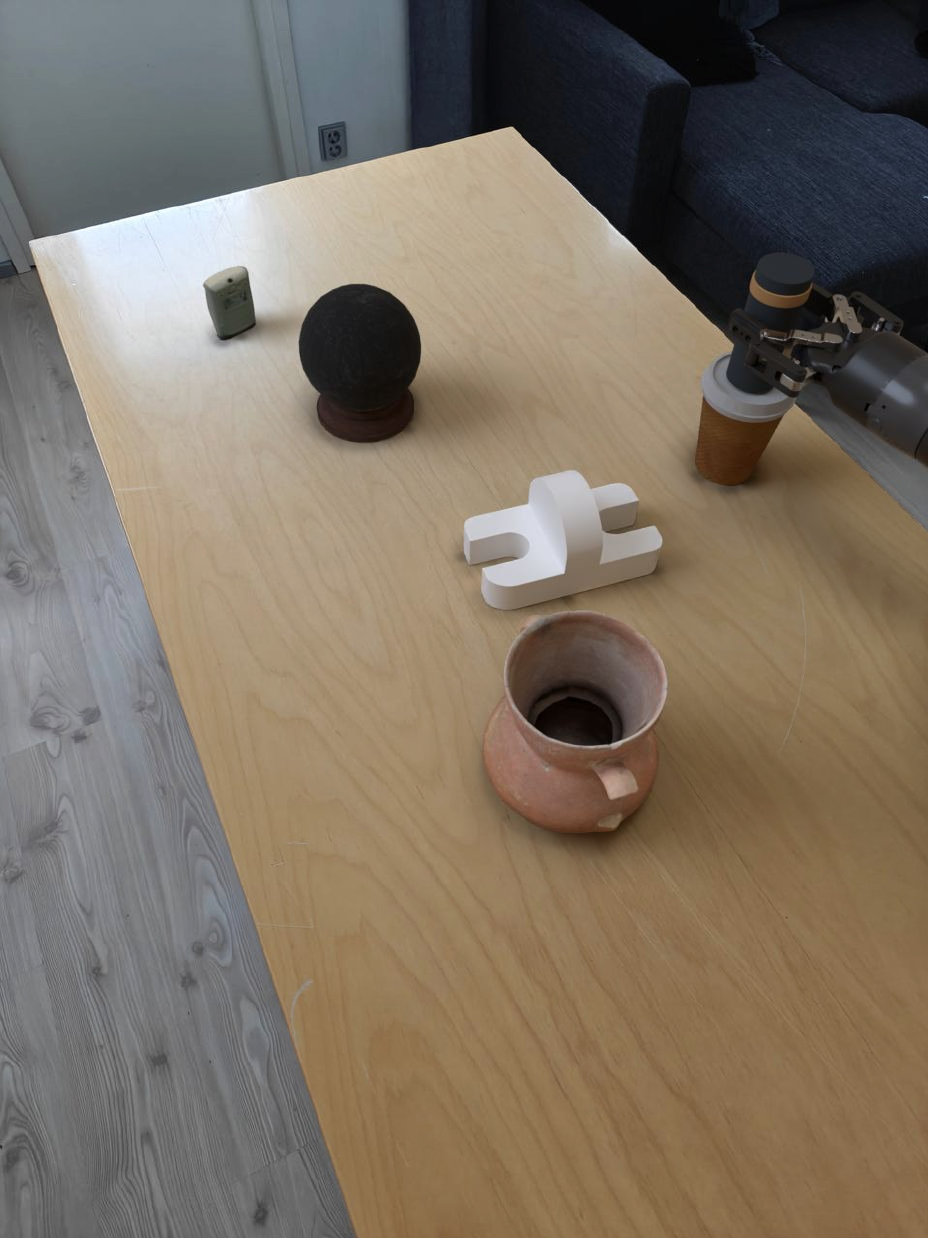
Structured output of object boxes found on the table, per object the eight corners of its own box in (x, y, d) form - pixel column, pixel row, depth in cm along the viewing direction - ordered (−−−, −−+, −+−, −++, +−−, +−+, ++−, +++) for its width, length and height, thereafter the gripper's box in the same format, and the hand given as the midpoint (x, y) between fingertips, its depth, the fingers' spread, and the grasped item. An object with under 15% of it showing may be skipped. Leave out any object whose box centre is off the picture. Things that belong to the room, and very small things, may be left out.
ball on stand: (443, 394, 108) (442, 279, 97) (386, 463, 101) (378, 348, 89) (347, 360, 112) (335, 246, 100) (286, 425, 105) (264, 309, 93)
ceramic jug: (687, 831, 76) (728, 745, 64) (520, 883, 73) (533, 802, 61) (601, 658, 86) (623, 558, 75) (452, 698, 83) (452, 599, 72)
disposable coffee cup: (663, 451, 103) (685, 362, 93) (731, 426, 106) (760, 337, 96) (714, 507, 98) (743, 419, 88) (785, 478, 101) (821, 390, 91)
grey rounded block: (245, 348, 113) (232, 290, 107) (205, 340, 114) (191, 282, 108) (263, 321, 117) (252, 263, 110) (224, 314, 117) (212, 256, 111)
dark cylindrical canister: (769, 359, 94) (806, 249, 84) (785, 392, 91) (824, 283, 81) (718, 361, 94) (749, 252, 84) (732, 395, 90) (765, 285, 81)
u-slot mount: (491, 615, 89) (495, 546, 81) (459, 544, 94) (460, 473, 86) (661, 571, 92) (680, 501, 85) (621, 505, 98) (636, 433, 90)
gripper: (975, 330, 78) (829, 242, 86) (862, 391, 73) (718, 291, 81) (938, 400, 84) (805, 311, 92) (831, 461, 79) (700, 362, 87)
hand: (765, 302), depth 87 cm, fingers open, 8 cm apart
